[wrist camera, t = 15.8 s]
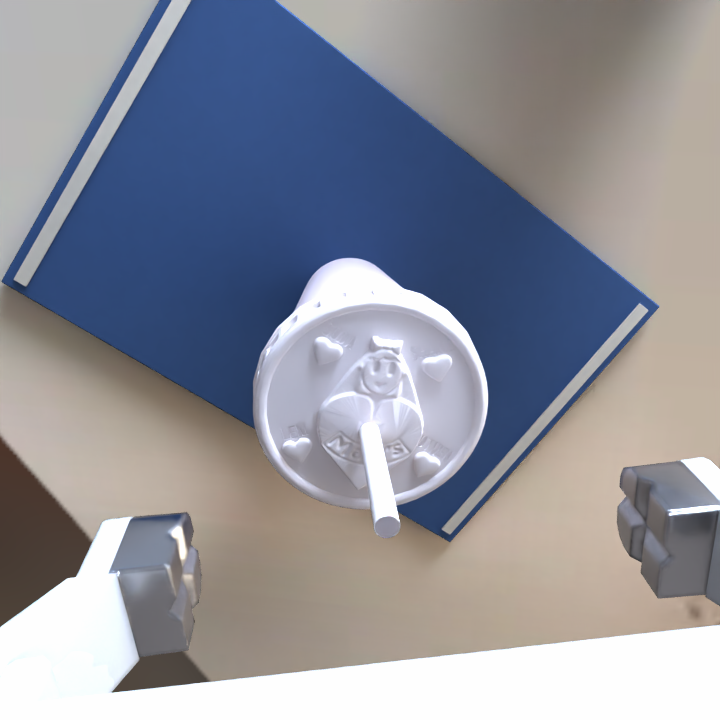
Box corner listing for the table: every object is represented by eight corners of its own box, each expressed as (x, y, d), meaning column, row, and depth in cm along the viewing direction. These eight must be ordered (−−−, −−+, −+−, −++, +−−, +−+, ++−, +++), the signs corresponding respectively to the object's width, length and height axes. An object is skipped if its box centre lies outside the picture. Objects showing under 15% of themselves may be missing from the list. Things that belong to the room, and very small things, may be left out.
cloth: (196, -62, 22) (194, -65, 22) (655, 303, 28) (661, 307, 28) (5, 279, 26) (-1, 282, 25) (448, 537, 32) (450, 544, 31)
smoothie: (258, 366, 27) (218, 613, 14) (279, 209, 25) (254, 336, 12) (410, 386, 28) (501, 637, 15) (444, 236, 26) (585, 382, 13)
